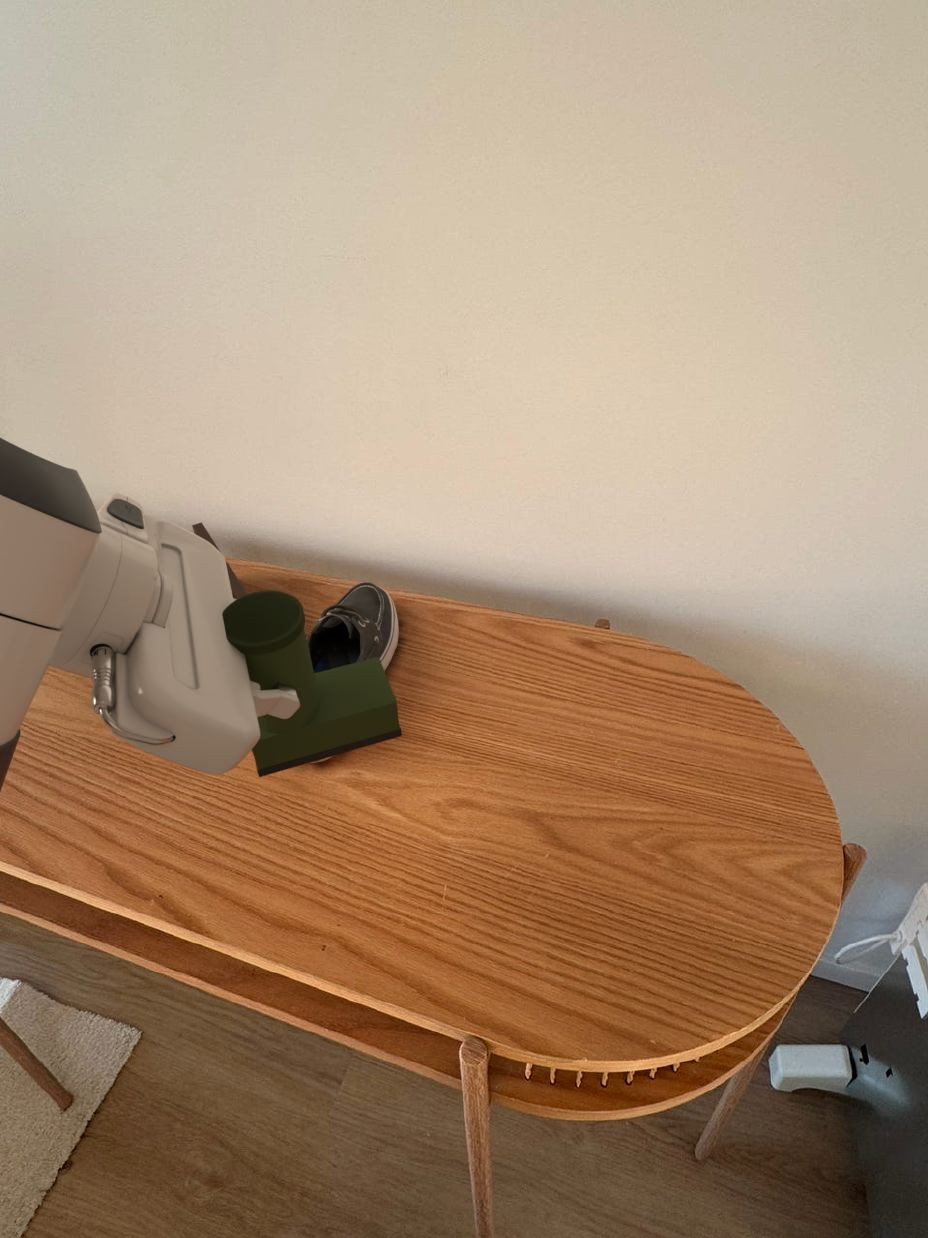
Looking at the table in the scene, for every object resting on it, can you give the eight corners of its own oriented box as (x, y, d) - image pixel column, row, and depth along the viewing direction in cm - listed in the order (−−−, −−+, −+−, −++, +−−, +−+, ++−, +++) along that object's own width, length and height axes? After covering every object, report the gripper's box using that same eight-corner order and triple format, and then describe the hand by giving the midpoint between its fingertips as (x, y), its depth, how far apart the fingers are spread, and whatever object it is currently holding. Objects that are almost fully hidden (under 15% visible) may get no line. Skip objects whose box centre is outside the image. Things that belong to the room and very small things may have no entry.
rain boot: (259, 778, 55) (218, 656, 46) (249, 724, 59) (209, 602, 50) (402, 737, 58) (389, 614, 49) (383, 688, 61) (368, 566, 53)
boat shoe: (348, 597, 92) (340, 542, 86) (416, 608, 90) (412, 553, 84) (254, 756, 73) (235, 700, 68) (336, 774, 72) (324, 718, 66)
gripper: (124, 685, 35) (344, 753, 44) (118, 478, 50) (286, 561, 59) (60, 767, 37) (284, 816, 46) (72, 545, 52) (241, 615, 61)
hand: (285, 672), depth 53 cm, fingers closed on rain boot, 5 cm apart
